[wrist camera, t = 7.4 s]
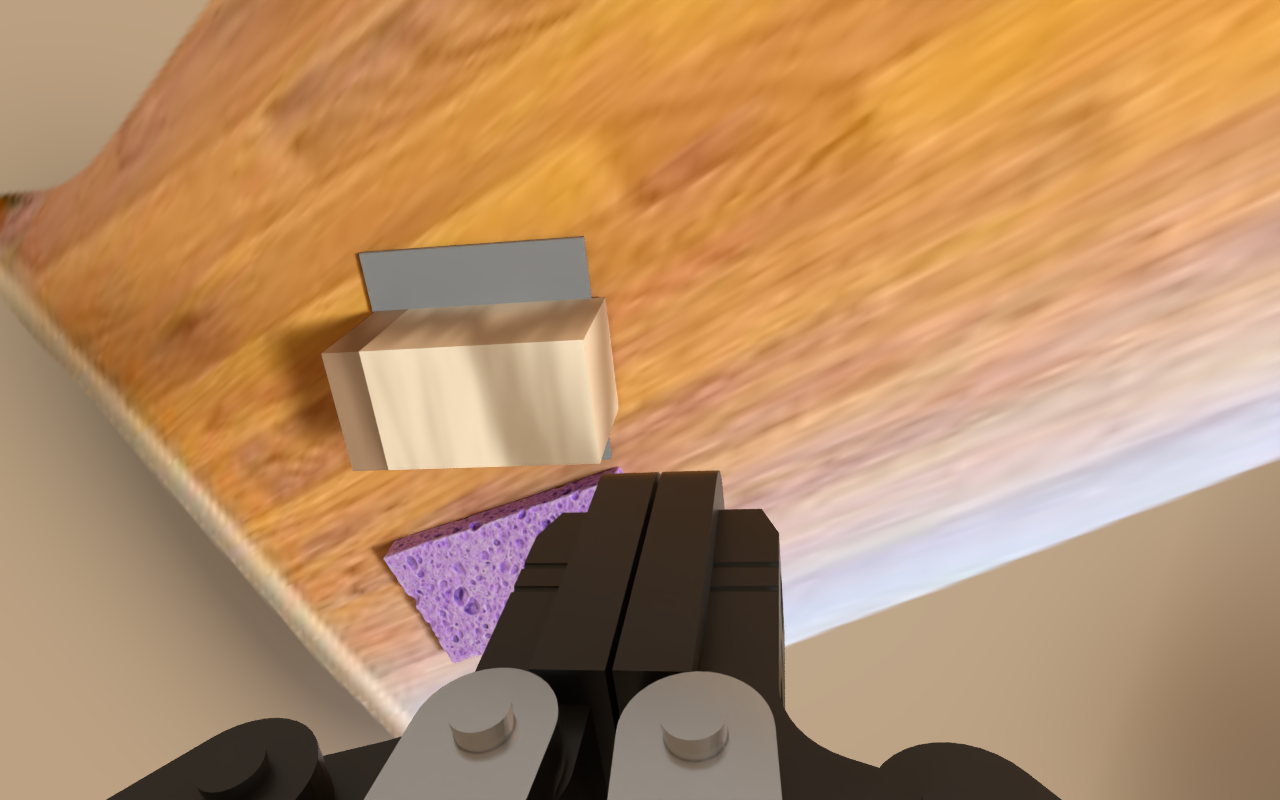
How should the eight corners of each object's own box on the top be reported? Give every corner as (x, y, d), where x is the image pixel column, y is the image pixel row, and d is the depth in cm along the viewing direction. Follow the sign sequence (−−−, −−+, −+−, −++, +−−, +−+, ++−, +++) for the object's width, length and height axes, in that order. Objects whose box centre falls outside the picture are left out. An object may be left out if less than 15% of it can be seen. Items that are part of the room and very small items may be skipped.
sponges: (396, 535, 41) (380, 557, 40) (624, 458, 38) (618, 479, 36) (463, 641, 44) (451, 666, 42) (683, 578, 40) (680, 602, 39)
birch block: (583, 339, 30) (321, 353, 31) (599, 463, 32) (352, 471, 33) (605, 297, 34) (375, 311, 36) (618, 408, 36) (400, 416, 38)
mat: (583, 236, 33) (582, 238, 33) (611, 455, 37) (610, 459, 37) (361, 252, 35) (358, 253, 35) (411, 462, 39) (409, 465, 39)
